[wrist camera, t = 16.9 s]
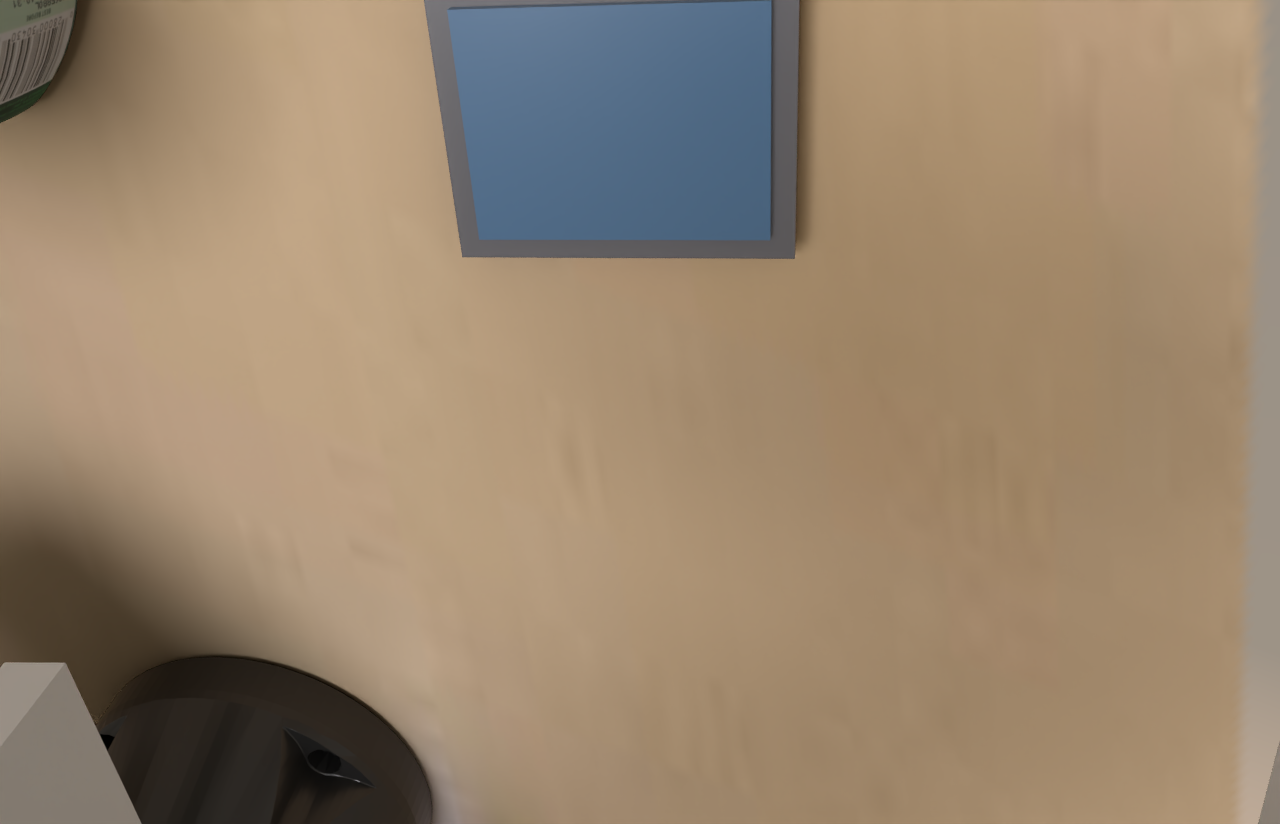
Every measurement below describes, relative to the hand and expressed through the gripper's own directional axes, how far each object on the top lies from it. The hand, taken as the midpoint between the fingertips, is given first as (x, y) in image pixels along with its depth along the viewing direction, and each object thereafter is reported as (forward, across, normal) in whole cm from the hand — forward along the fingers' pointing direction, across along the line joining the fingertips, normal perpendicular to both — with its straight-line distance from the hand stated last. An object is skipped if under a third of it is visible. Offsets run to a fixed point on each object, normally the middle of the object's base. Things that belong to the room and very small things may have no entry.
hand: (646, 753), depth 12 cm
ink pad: (+23, +3, 0) cm, 24 cm away
